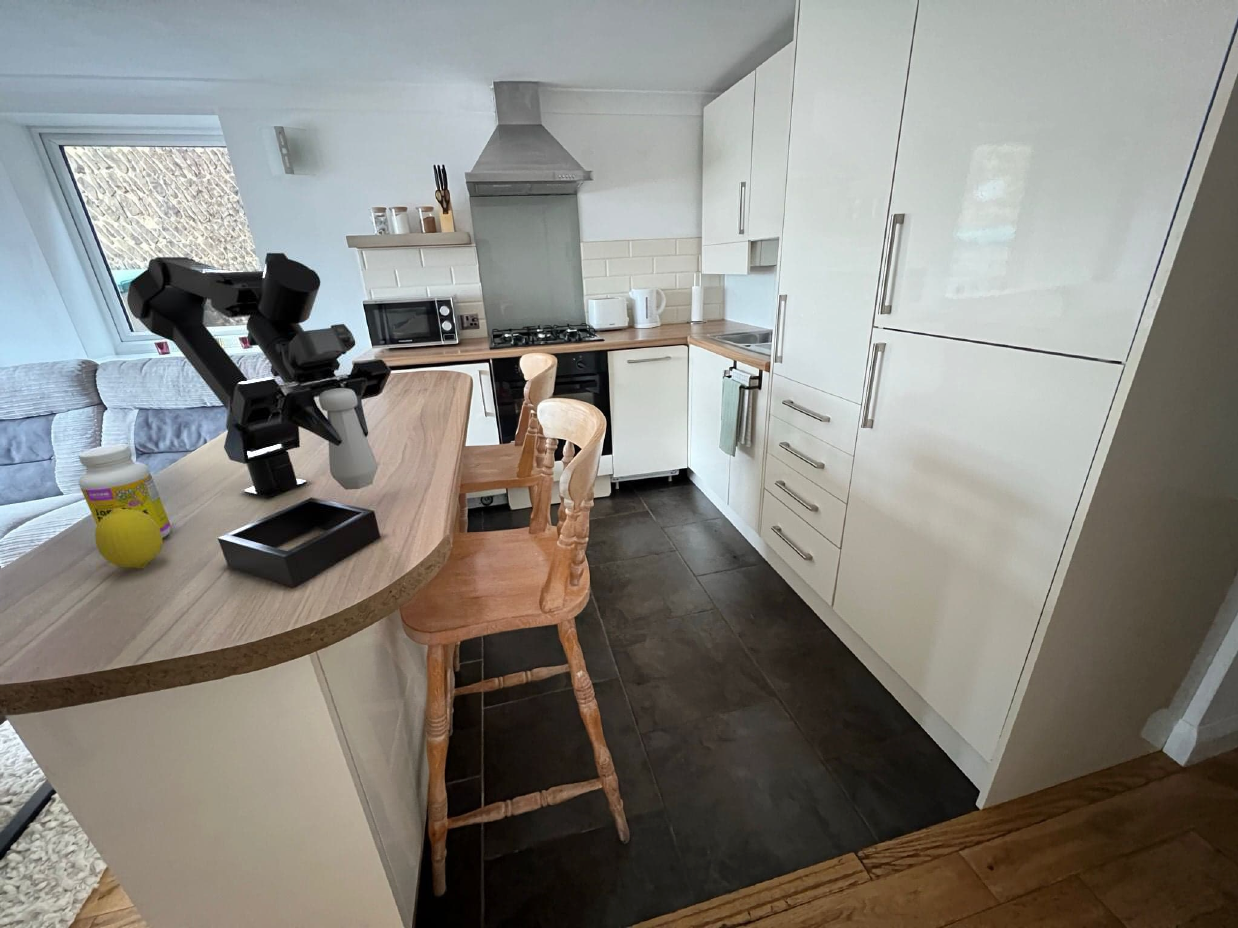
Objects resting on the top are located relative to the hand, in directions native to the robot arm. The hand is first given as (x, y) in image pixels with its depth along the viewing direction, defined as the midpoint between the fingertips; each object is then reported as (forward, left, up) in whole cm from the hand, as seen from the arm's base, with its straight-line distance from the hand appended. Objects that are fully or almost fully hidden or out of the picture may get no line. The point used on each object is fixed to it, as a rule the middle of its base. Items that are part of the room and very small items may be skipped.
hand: (353, 439), depth 66 cm
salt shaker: (-1, 0, -7) cm, 7 cm away
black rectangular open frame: (-2, -9, -12) cm, 15 cm away
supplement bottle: (-27, -15, -12) cm, 33 cm away
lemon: (-18, -19, -12) cm, 28 cm away
